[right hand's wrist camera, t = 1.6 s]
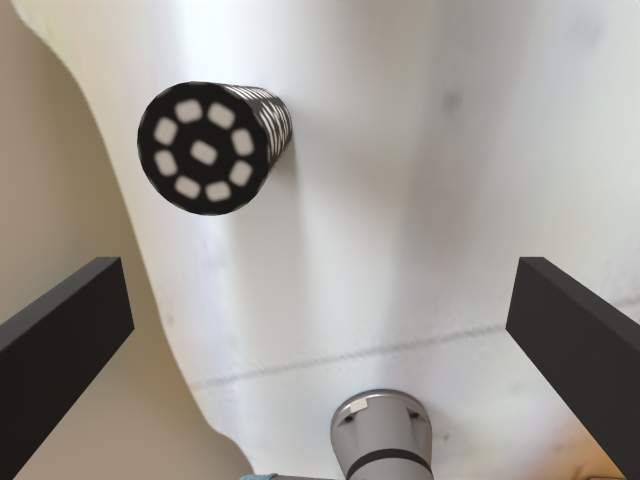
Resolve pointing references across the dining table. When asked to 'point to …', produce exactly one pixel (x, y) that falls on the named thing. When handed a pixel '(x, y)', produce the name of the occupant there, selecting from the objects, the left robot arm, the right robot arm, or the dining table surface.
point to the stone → (604, 479)
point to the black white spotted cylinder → (212, 144)
